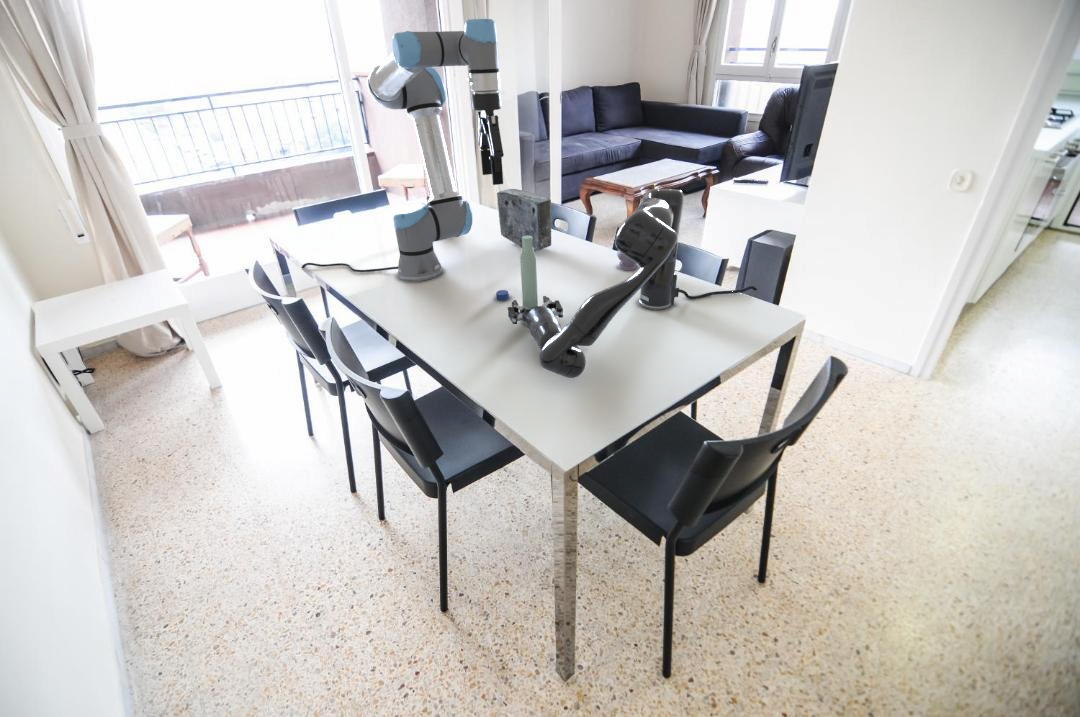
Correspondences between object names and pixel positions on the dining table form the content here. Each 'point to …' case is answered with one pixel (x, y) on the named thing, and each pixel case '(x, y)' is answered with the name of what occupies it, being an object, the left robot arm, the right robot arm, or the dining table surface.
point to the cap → (502, 295)
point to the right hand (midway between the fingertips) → (529, 301)
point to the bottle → (528, 273)
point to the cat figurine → (626, 262)
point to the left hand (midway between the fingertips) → (492, 179)
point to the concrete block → (525, 217)
